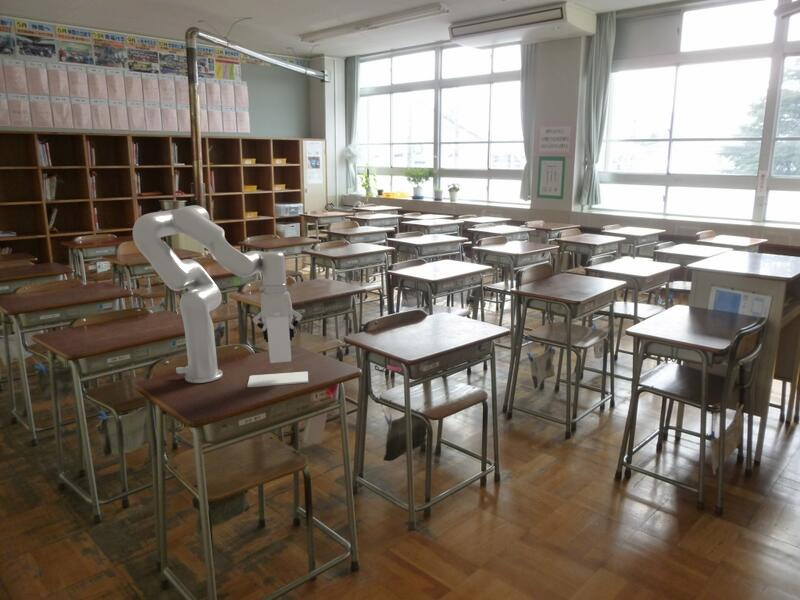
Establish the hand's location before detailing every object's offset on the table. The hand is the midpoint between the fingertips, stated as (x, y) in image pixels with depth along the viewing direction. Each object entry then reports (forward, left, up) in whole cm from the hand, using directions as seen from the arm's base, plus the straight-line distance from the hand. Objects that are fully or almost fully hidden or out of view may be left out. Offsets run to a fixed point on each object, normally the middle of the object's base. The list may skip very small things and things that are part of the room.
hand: (279, 340), depth 207 cm
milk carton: (0, 0, -7) cm, 7 cm away
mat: (-1, 0, -14) cm, 14 cm away
